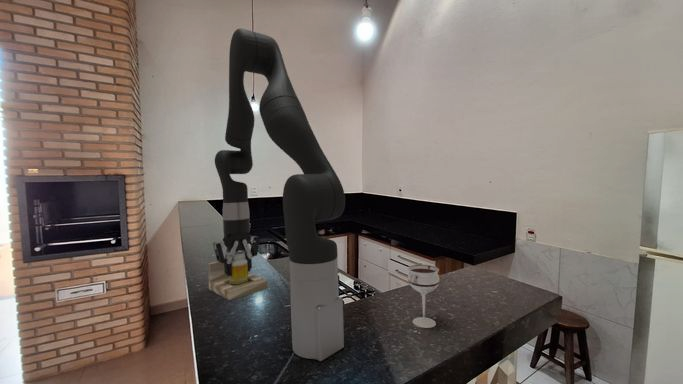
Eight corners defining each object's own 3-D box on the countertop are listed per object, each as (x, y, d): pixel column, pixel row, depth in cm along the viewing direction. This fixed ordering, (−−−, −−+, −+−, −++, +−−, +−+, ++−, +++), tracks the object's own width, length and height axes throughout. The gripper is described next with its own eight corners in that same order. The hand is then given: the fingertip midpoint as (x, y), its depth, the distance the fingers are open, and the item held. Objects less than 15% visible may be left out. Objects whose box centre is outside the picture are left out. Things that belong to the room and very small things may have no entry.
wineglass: (431, 314, 70) (430, 263, 69) (446, 328, 63) (445, 272, 62) (403, 317, 68) (402, 265, 68) (416, 331, 62) (415, 274, 61)
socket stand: (267, 288, 90) (266, 262, 89) (229, 300, 81) (228, 271, 81) (245, 278, 99) (244, 255, 99) (208, 289, 90) (207, 263, 90)
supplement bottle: (227, 284, 90) (225, 253, 89) (244, 280, 93) (243, 250, 93) (233, 289, 86) (231, 256, 85) (251, 284, 89) (249, 252, 89)
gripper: (217, 221, 81) (220, 282, 82) (264, 215, 91) (266, 270, 92) (206, 219, 86) (209, 276, 87) (251, 214, 96) (253, 265, 97)
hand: (238, 273), depth 89 cm, fingers closed on supplement bottle, 5 cm apart
